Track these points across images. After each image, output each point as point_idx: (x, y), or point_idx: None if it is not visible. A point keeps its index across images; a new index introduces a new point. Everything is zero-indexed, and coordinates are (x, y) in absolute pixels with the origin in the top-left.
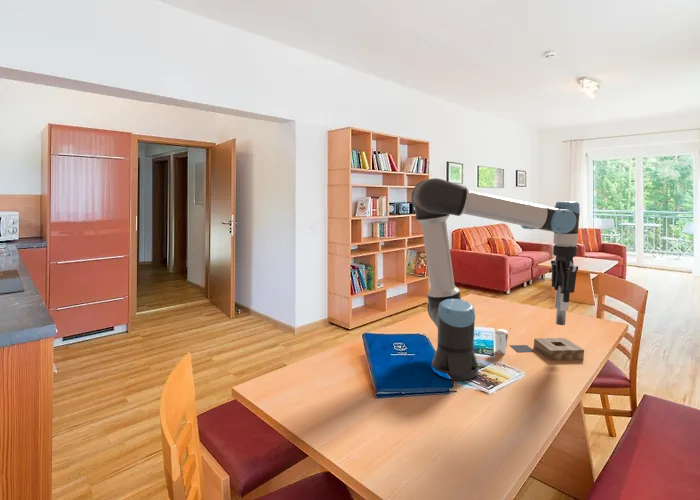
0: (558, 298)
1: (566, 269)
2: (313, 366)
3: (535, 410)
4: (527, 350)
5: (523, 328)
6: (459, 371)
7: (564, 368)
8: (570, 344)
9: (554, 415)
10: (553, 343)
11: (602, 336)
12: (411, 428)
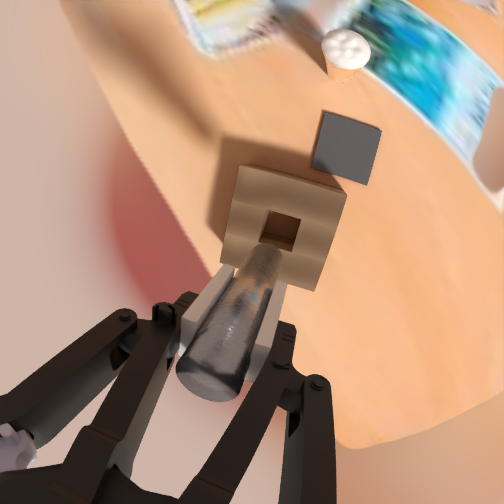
0: (234, 302)
1: (62, 463)
2: None
3: (102, 26)
4: (328, 152)
5: (462, 286)
6: None
7: (202, 167)
8: None
9: (86, 47)
10: (298, 229)
11: None
12: None
